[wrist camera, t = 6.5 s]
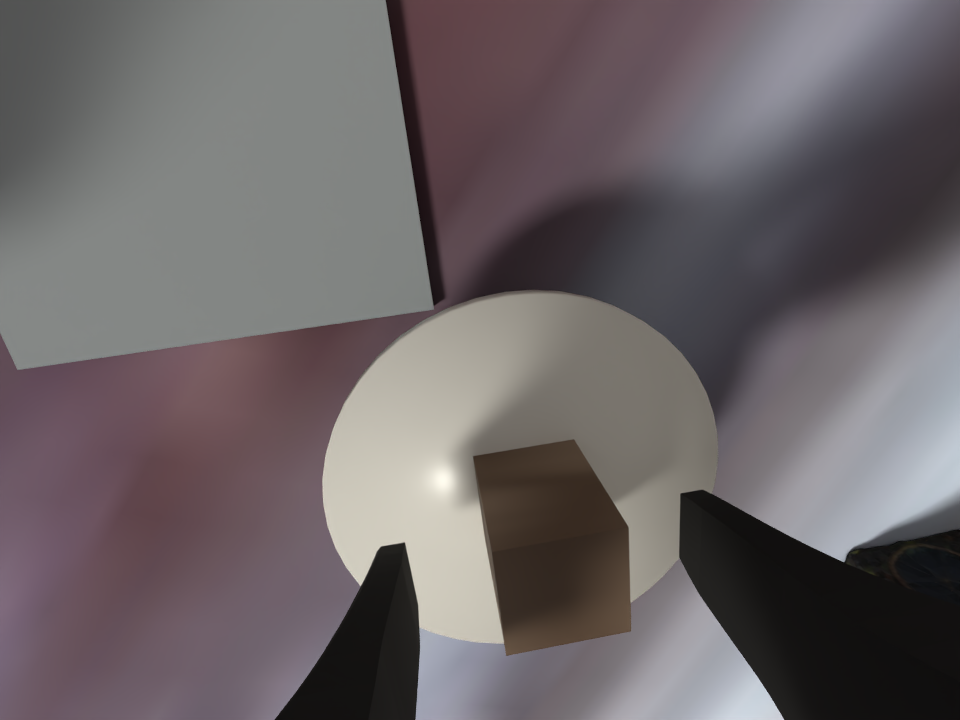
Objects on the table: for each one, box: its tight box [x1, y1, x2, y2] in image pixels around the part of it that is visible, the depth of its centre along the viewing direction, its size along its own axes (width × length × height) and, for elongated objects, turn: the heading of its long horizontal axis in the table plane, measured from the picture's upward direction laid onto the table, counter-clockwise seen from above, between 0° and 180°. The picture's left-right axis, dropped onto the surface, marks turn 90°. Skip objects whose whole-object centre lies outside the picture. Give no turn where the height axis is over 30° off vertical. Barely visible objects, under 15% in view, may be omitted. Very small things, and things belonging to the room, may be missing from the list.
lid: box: [323, 290, 718, 656], centre depth 13 cm, size 12×12×5 cm
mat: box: [0, 0, 434, 370], centre depth 15 cm, size 14×14×1 cm
